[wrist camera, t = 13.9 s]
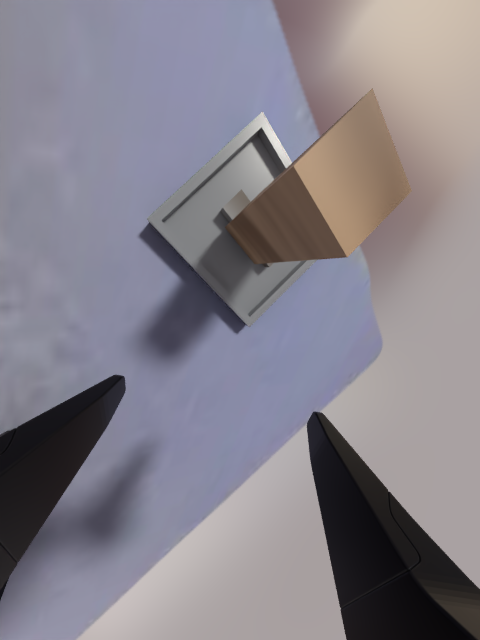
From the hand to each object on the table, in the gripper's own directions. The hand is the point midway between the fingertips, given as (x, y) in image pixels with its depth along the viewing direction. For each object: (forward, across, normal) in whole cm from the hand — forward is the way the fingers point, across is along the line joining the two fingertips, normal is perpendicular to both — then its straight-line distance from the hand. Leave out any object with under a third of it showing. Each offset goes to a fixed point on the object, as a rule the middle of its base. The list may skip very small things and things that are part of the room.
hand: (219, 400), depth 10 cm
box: (+16, 0, -6) cm, 17 cm away
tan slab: (+16, 0, -6) cm, 17 cm away
